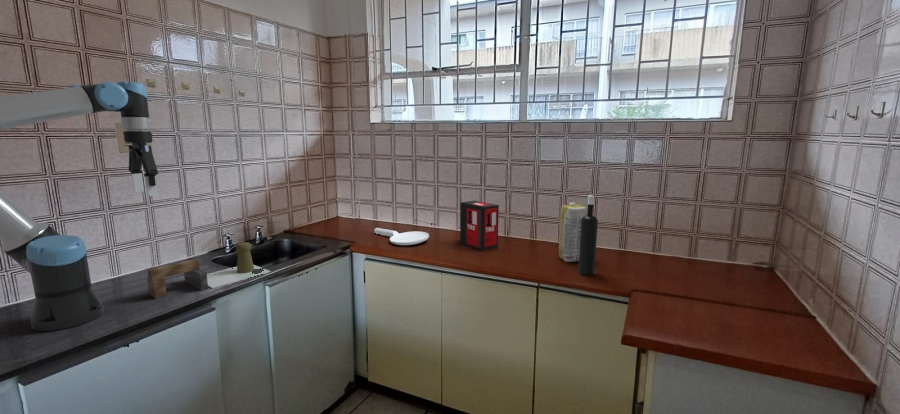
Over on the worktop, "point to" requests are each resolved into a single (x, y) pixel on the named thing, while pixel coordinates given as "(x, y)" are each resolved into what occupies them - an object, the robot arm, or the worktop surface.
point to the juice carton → (570, 231)
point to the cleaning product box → (479, 225)
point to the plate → (229, 276)
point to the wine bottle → (588, 241)
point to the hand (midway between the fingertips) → (145, 194)
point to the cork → (244, 258)
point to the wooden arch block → (189, 269)
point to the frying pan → (403, 236)
